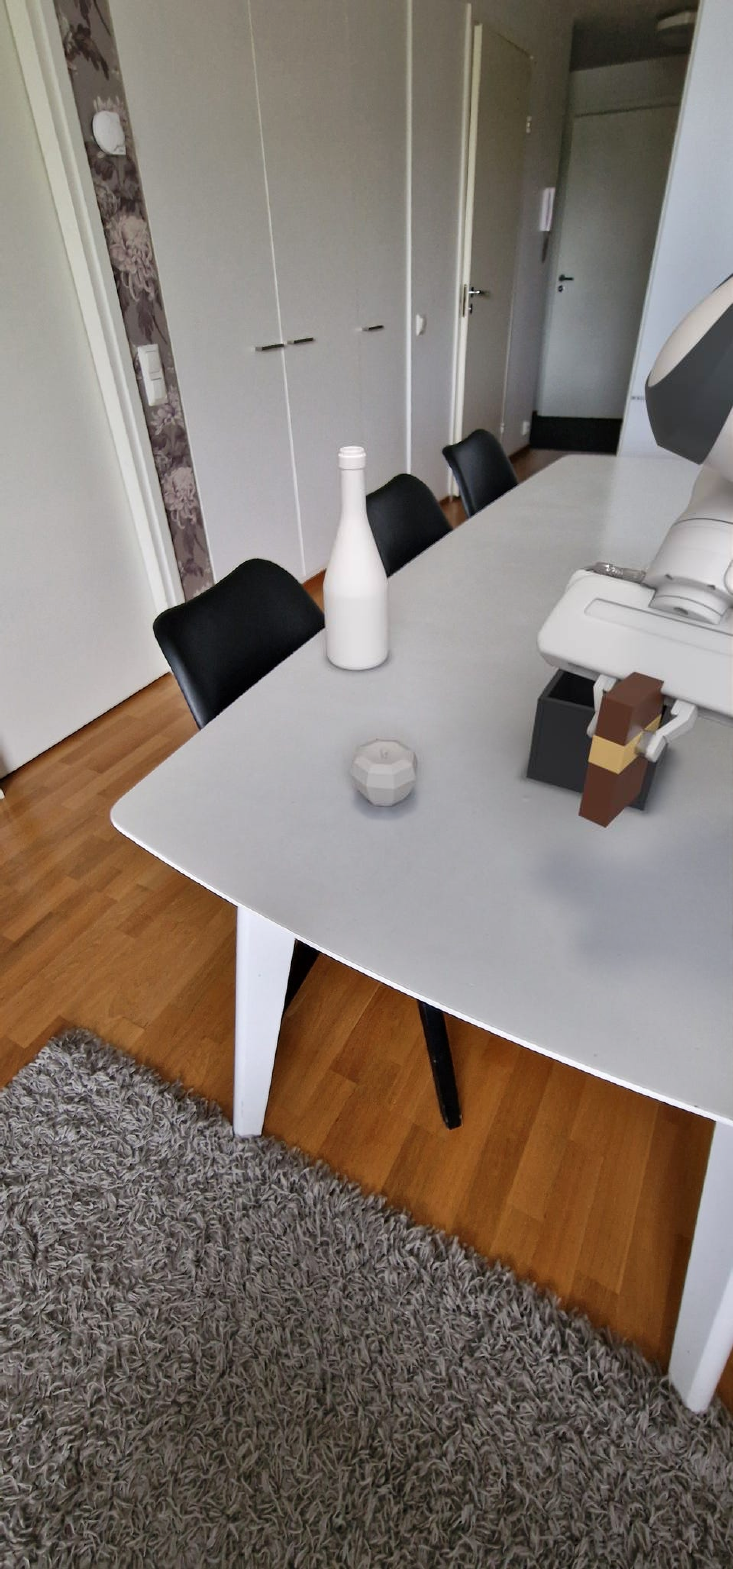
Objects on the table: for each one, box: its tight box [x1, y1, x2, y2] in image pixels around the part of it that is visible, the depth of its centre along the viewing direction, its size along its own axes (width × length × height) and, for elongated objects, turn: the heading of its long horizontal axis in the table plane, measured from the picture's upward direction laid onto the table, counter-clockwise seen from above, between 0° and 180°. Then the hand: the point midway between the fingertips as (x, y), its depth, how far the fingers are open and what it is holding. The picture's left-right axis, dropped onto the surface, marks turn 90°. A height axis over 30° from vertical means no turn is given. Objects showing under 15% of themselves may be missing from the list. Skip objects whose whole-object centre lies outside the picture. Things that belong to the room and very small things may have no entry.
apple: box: [349, 738, 419, 807], centre depth 79 cm, size 8×8×7 cm
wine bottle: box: [322, 445, 389, 671], centre depth 100 cm, size 10×10×30 cm
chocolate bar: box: [577, 672, 666, 829], centre depth 54 cm, size 2×6×11 cm, turn 137°
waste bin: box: [525, 668, 673, 811], centre depth 82 cm, size 14×14×11 cm
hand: (620, 747), depth 54 cm, fingers closed on chocolate bar, 2 cm apart
